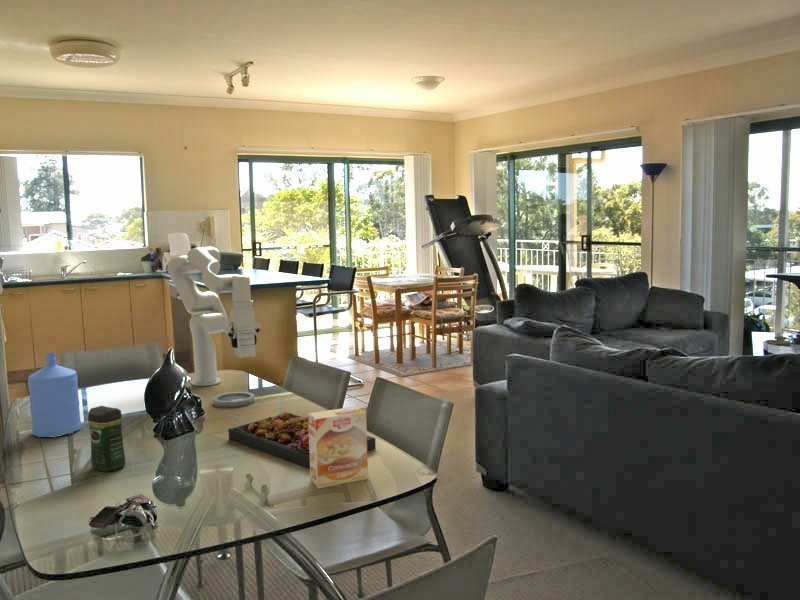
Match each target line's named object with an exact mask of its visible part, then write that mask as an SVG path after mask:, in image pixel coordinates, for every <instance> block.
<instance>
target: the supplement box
mask: <svg viewBox="0 0 800 600" xmlns="http://www.w3.org/2000/svg"><path fill="white" fill-rule="evenodd" d="M236 334H237V336H236V338H237V348H233V352H234V353H233V354H234V356H235V357H237V358H239V359H241V358H251V357H256V345H255V337H254V327H253V326H248V327H241V328H237V333H236Z"/></svg>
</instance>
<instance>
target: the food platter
mask: <svg viewBox="0 0 800 600" xmlns="http://www.w3.org/2000/svg"><path fill="white" fill-rule="evenodd" d="M228 440H229V441H231V440H232V442H234V441H235V442H234V443H236V442H238V443H237V444H239V443H240V445H241V446H245V447H247V446H248V448H251V449H254V450H256V451H258V452H262V453H264V454H266V455H269V456H272V457H275V458H278V459H281V460H284V461H287V462H289V463H291V464H294V465H297V466H300V467H303V468H305V469H308V470H310V452H309V424H308V416H306V417H303V416H300V415H297V414H293V413H291V412H288V411H284V412H283V413H281V414H277V415H275V416H274V415H273V416H269V417H267V418H263V419H260V420H255V421H251V422H248V423H245V424H241V425H237V426H233V427H230V428H228ZM373 449H376V438H375V437H374V436H370V435H367V453H369V452H368V451H370V452H372V451H371V450H373ZM376 450H377V449H376ZM373 451H374V450H373Z"/></svg>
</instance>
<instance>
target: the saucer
mask: <svg viewBox="0 0 800 600" xmlns="http://www.w3.org/2000/svg"><path fill="white" fill-rule="evenodd" d="M212 402H213V405H214V406H215V405H216V406H215V407H217V406H218V407H217V408H224V407H225V408H228V409H229V408H230V409H231V408H240V407H244V406H248V405H252V404H253V403H255V394H254V393H252V392H247V391H233V392H232V391H231V392H224V393H220V394H217V395H215V396H214V397H213V398H212ZM251 403H252V404H251Z"/></svg>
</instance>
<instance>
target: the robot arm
mask: <svg viewBox="0 0 800 600" xmlns="http://www.w3.org/2000/svg"><path fill="white" fill-rule="evenodd" d="M220 262H221V253H220V251H219V249H217V248H216V247H214V246H199V247H198V246H197V247H194V248H191V249H189V250H188V251H187V254H184V255H183V254H182V255H176V256H174V257H173V256H172V257H171V258H170V259H169V261H168V263H167V273H168V276H169V278H170V281H172V284H173V285H174V286H175V288H176V289H177V292H178V293H179V296H180V299H181V301H182V303H183V305H184V308H185V310H186V312H187V313H188V314H190V315H192V317H191V318H190V319H189V330H190V333H191V339H192V349H193V365H194V380H192V381H191V385H192V386H195V387H207V386H214V385H217V384H220V383H221V381H222V379H221V378H219V377H218V371H217V370H218V369H217V368H218V367H217V352H216V343H215V341H214V339H213V337H212V336H211V335H212V334H217V333H221V332H225V333H226V335H227V336H229V338H230V340H231V341H230V344H231V347H232V348H233V349H234V348H237V338H236V336H237V334H236V333H237V328H241V327H248V326H253V327H254V337H255V346H256V345H257V342H258V341H257V336H258V333H259V332H260V331H261V328H262V326H263V325H262V324H261V323H260V322H258V321H256V316H255V311H254V308H253V306H252V305H253V304H254V302H255V301H254V300H252V297H251V293H252V292H251V282H250V281H251V280H250V279H251V278H250V276H249V275H247V274H238V273H229V274H228V273H227V274H220V275H219V273H220V270H221V263H220ZM199 273H200V274H201V278H202V282H203V285H204V286H205V287H206V288H208V289H209V290H208V291H200V290H199V287H198V285H197V283H196V281H195V280H194V279H193V278H191V277H190V276H188V274H199ZM223 293H231V297H232V298H231V299H232V308H231V309H230V314H229V317H228V315H227V313H226V311H225V308H224V306H223V304H222V302H221V300H220V297H219V295H218V294H223Z"/></svg>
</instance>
